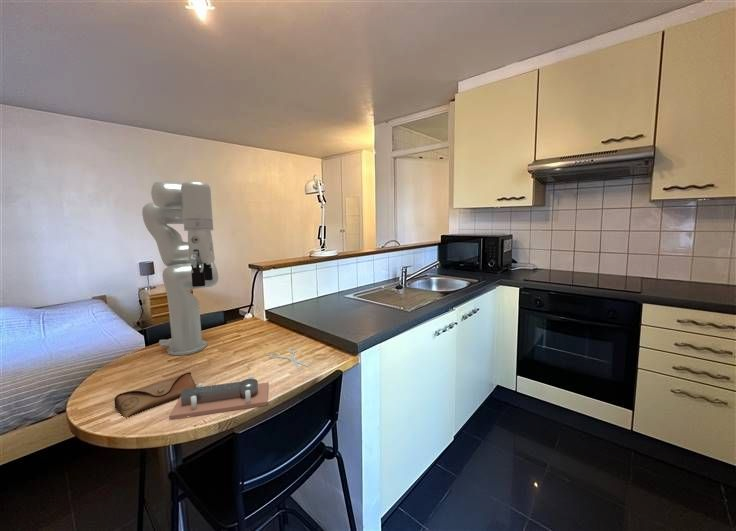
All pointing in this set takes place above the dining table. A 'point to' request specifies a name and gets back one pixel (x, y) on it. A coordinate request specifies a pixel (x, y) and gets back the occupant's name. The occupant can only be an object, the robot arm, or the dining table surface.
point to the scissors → (290, 358)
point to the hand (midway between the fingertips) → (203, 283)
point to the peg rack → (221, 403)
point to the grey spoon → (220, 392)
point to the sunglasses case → (152, 395)
